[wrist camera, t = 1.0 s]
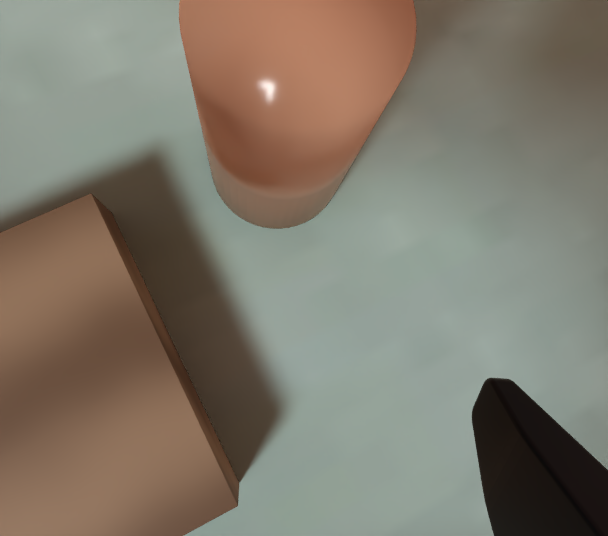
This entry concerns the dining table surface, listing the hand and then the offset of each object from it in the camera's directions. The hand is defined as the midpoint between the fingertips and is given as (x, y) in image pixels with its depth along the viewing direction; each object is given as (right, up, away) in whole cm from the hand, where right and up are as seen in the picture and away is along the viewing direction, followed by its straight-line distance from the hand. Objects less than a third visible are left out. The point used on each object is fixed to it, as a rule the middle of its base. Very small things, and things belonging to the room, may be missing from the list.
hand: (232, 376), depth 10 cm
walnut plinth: (-9, -4, +12) cm, 15 cm away
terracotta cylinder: (0, +6, +14) cm, 15 cm away
